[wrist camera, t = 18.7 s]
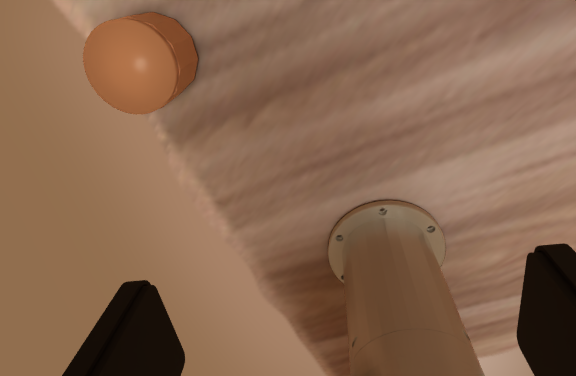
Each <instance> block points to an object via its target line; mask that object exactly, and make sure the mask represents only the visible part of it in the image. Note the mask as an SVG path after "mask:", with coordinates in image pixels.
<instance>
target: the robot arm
mask: <svg viewBox="0 0 576 376" xmlns="http://www.w3.org/2000/svg"><path fill="white" fill-rule="evenodd" d="M382 208H383V209H382ZM445 252H446V245H445V238H444V236H443V233H442V231H441V229H440V227H439V225H438V223H437V222H436V221H435V219H434V218H433V217H432V216H431V215H430V214H428V213H427V212H426V211H424V210H423V209H421V208H419V207H417V206H415V205H413V204H409V203H406V202H402V201H392V200H388V201H377V202H373V203H368V204H365V205H363V206H360V207H358V208H356V209H354V210H353V211H351V212H349V213H348V214H346V215H345V216H344V217H343V218H342V219H341V220H340V221H339V222H338V224H337V225H336V226H335V228H334V229H333V231H332V233H331V236H330V238H329V243H328V258H329V264H330V266H331V269H332V271H333V272H334V274H335V275H336V277H337V278H338V279H339V280H340V281H341V282H342V283H343V284H344V288H345V302H346V316H347V330H348V344H349V358H350V372H351V376H484V373H483V371H482V368H481V366H480V364H479V361H478V359H477V356H476V354H475V352H474V349H473V347H472V344H471V342H470V339H469V337H468V334H467V332H466V330H465V327H464V325H463V322H462V320H461V317H460V315H459V312H458V310H457V308H456V305H455V303H454V300H453V298H452V295H451V293H450V290H449V288H448V286H447V283H446V281H445V278H444V276H443V273H442V271H441V268H440V267H441V266H442V263H443V261H444V258H445ZM517 340H518V344H519V347H520V349H521V351H522V353H523V355H524V357H525V358H526V360H527V362H528V364H529V366H530V368H531V370H532V372H533V373H534V375H535V376H576V252H575V251H574V250H573V249H572V248H571V247H570V246H569V245H567V244H553V245H542V246H537V247H536V248H535V251H534V253H529V254H528V255H527V260H526V268H525V275H524V282H523V290H522V297H521V304H520V312H519V319H518V327H517ZM184 363H185V354H184V351H183V348H182V346H181V343H180V341H179V339H178V337H177V334H176V332H175V330H174V328H173V325H172V323H171V320H170V318H169V316H168V314H167V311H166V309H165V307H164V305H163V302H162V300H161V297H160V295H159V293H158V290H157V288H156V287H155V286H154V285H151V284H150V283H149V282H148V281H145V280H142V281H131V282H125V283H123V284H122V285H121V287H120V288H119V290H118V291H117V293H116V294H115V296H114V297H113V299H112V300H111V302H110V303H109V305H108V307H107V308H106V310H105V311H104V313H103V314H102V316H101V317H100V319H99V320H98V322H97V323H96V325H95V326H94V328H93V330H92V331H91V332H90V334H89V336H88V337H87V338H86V340H85V342H84V343H83V345H82V346H81V348H80V349H79V351H78V352H77V354H76V355H75V357H74V359H73V360H72V362H71V363H70V364H69V366H68V368H67V369H66V371H65V372H64V373H63V375H62V376H181V373H182V370H183V367H184Z"/></svg>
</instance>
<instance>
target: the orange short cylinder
mask: <svg viewBox="0 0 576 376" xmlns="http://www.w3.org/2000/svg"><path fill="white" fill-rule="evenodd" d="M83 62H84V68H85V72H86V75H87V77H88V80H89V81H90V84H91V85H92V87H93V88H94V90H95V91H96V92H97V94H98V95H99V96H100V97H101V98H102V99H103V100H104V101H105V102H107V103H108V104H110V105H111V106H112V107H114V108H116V109H118V110H120V111H123V112H126V113H130V114H147V113H150V112H153V111H155V110H157V109H159V108H162V107H164V106H165V105H166V104H167V103H169V102H170V101H171V100H172V99H174V98H175V97H176V96H178V95H179V94H180V93H181V92H182V91H183V90H184V89H185V88H186V87H187V86H188V85H189V84H190V83H191V82H192V81H193V80H194V77H195V72H196V67H197V62H198V57H197V54H196V50H195V47H194V44H193V41H192V38H191V36H190V35H189V34H188V33H187V32H186V31H185V30H184V29H183V28H182V27H181V25H180V24H179V23H178V22H177V21H176V20H175V19H172V18H169V17H166V16H163V15H160V14H157V13H154V12H150V13H144V14H138V15H132V16H127V17H123V18H119V19H114V20H109V21H106V22H104V23H102V24H100V25H99V26H97V27H96V28H95V29H94V30H93V31H92V32H91V33H90V35H89V36H88V38H87V41H86V43H85V47H84V53H83Z"/></svg>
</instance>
